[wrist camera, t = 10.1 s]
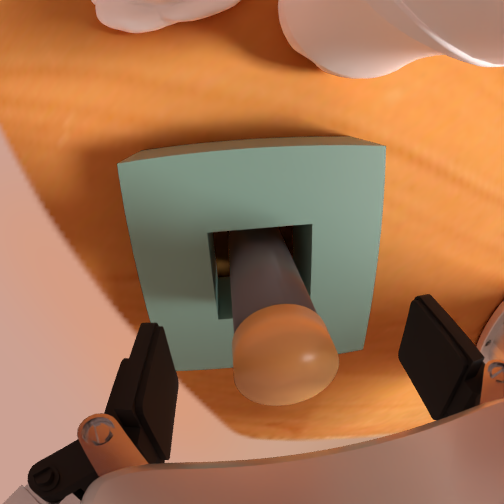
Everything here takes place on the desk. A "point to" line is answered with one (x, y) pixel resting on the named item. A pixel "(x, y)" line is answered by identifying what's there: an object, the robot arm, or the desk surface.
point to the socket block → (250, 217)
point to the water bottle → (392, 33)
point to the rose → (155, 12)
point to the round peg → (275, 323)
